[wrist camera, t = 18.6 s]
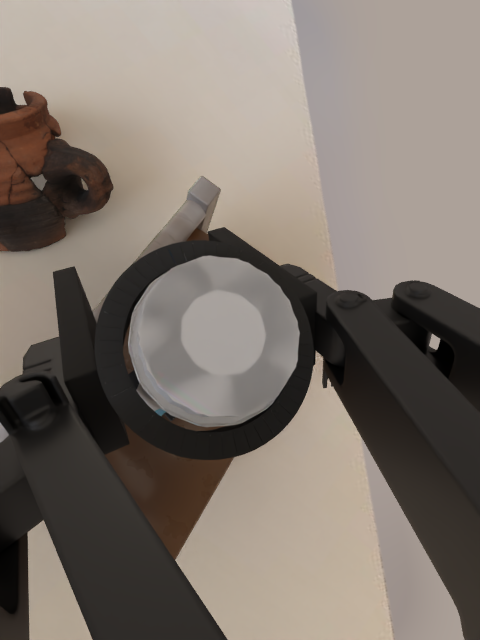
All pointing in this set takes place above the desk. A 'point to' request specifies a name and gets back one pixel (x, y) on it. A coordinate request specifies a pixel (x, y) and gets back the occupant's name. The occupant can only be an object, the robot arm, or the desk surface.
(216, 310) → the push button
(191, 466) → the box
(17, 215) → the pottery mug
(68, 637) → the desk surface
